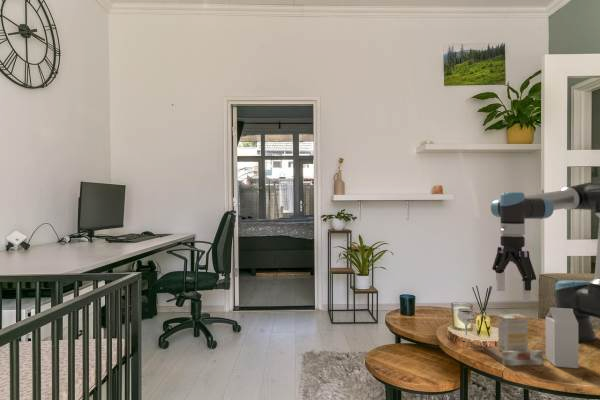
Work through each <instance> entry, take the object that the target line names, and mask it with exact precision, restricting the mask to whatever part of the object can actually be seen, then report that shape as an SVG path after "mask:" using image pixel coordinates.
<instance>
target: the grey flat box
mask: <svg viewBox="0 0 600 400" xmlns="http://www.w3.org/2000/svg"><path fill="white" fill-rule="evenodd" d="M482 351H483V353H485V354H486V355H487V356H489V357H490V358H492V359H494V361H496V362H498V363H500V364H501V365H503V366H504V367H505V366H507V367H508V366H509V367H511V366H533V365H534V366H536V365H537V366H538V365H544V351H543V350H542V349H530V350H529V349H528V350H521V351H502V352H501V351H499V345H488V346H487V345H486V346H485V345H484V346H483V350H482Z"/></svg>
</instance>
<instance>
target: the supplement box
mask: <svg viewBox="0 0 600 400" xmlns="http://www.w3.org/2000/svg"><path fill="white" fill-rule="evenodd" d="M497 315H498V316H497V322H498V323H497V325H498V326H497V328H498V329H497V331H498V333H497V334H498V335H497V336H498V341H497V342H498V346H499V351H501V352H502V351H521V350H529V349H528V348H529V347H528V346H529V345H528V342H529V340H528V338H529V337H528V335H529V334H528V317H527V316H525V315H522V314H519V313H510V314H509V313H504V314H501V313H500V314H497Z"/></svg>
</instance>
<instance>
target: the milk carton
mask: <svg viewBox="0 0 600 400" xmlns="http://www.w3.org/2000/svg"><path fill="white" fill-rule="evenodd" d="M545 359H546V360H547V361H548V362H549V363H550V364H552V365H553V366H554V367H556V368H557V367H558V368H571V369H579V341H578V322H577V320H576V317H575V315H574V313H573V309H566V308H556V307H549V311H548V312H547V314H546V315H545Z"/></svg>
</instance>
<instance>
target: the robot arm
mask: <svg viewBox="0 0 600 400" xmlns="http://www.w3.org/2000/svg"><path fill="white" fill-rule="evenodd" d="M562 209H563V210H567V211H573V210H584V211H586V210H587V211H594V214H595V216H597V217H598V219H599V220H598V231H597V243H596V244H597V245H596V255H595V256H596V257H595V269H594V278H593V279H591V280H590V281H588V280H580V279H579V280H575V279H573V280H572V279H569V280H568V279H566V280H565V279H564V280H558V281H556V283H555V291H554V293H555V295H554V296H555V297H554V298H555V308H566V309H573V313H574V315H575V317H576V320H577V322H578V342H584V343H585V342H586V343H587V342H593V341H596V332H595V331H594V327H593V324H592V322H591V318H590V317H593V318H597V319H600V181H590V182H584V183H581V184H580V183H579V184H576V185H571V186H566V187H563V188H561V189H559V190H555V191H549V192H543V193H542V192H541V193H536V194H530V195H525V193H524V192H521V191H519V192H518V191H517V192H515V191H514V192H513V191H511V192H509V191H508V192H502V193H501V195H500V198H499V199H495V200H493V201H492V202H491V204H490V211H491V214H492V215H493V216H494V217H496V218H500V234H501V236H500V246H498V247H497V250H496V252H497V253H496V255H495V258H494V262H493V265H492V267H491V270H492V271H495V273H496V276H495V277H496V278H495V279H496V291H497V292H505V291H506V274H505V270H506V268H507V266H508V265H509V263H510V262H511V263H512V264H514V265H515V266H516V268H517V270H518V273H519V274H520V276H521V277H522V279H521V282H520V283H521V287H520V289H521V300H522V301H528V300H529V301H531V296H532V295H531V290H532V281H536V280H537V276H536V273H535V270H534V267H533V263H532V262H531V261H532V260H531V258H530V251H529V250H523V248H524V247H525V246H526V245H525V243H526V242H525V241H526V238H525V237H524V235H526V227H525V225H526V224H525V222H526V221H525V219H526V220H527V219H528V220H529V219H530V220H531V219H533V220H534V219H535V220H536V219H537V220H539V219H540V220H542V219H548V218H550V217H552V215H553V214H554V211H557V210H562Z"/></svg>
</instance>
